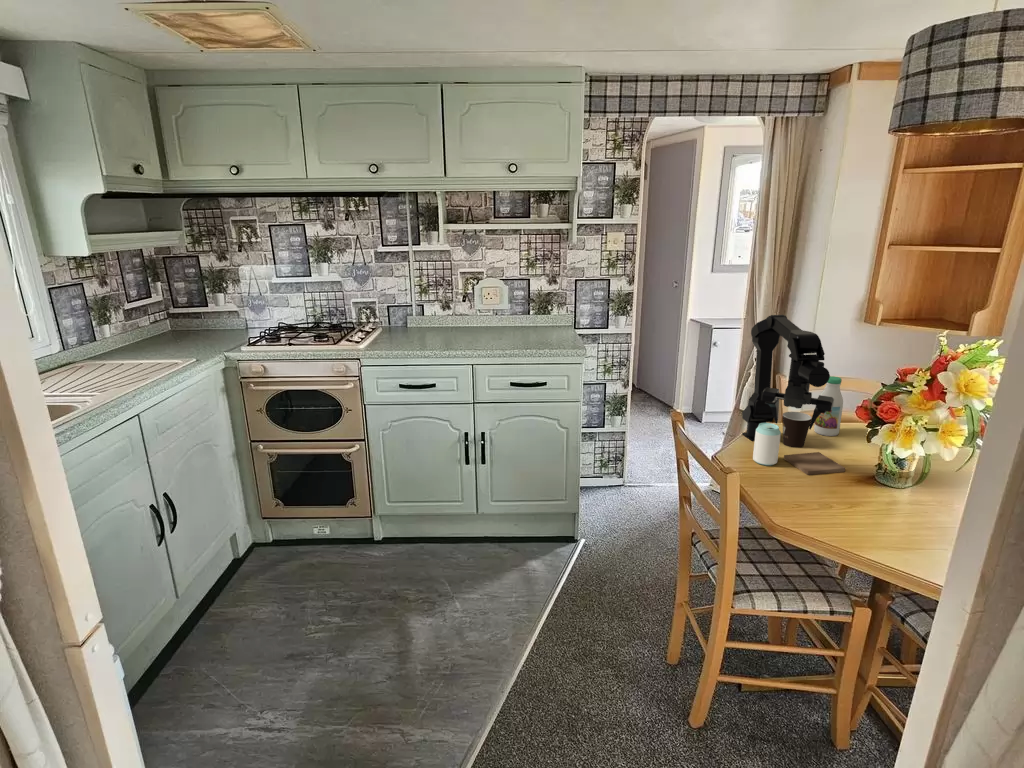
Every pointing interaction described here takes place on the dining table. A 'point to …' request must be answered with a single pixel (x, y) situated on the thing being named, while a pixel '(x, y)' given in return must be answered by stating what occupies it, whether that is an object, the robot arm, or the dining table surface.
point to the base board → (814, 463)
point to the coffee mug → (795, 428)
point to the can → (766, 444)
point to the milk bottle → (831, 420)
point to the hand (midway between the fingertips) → (792, 426)
